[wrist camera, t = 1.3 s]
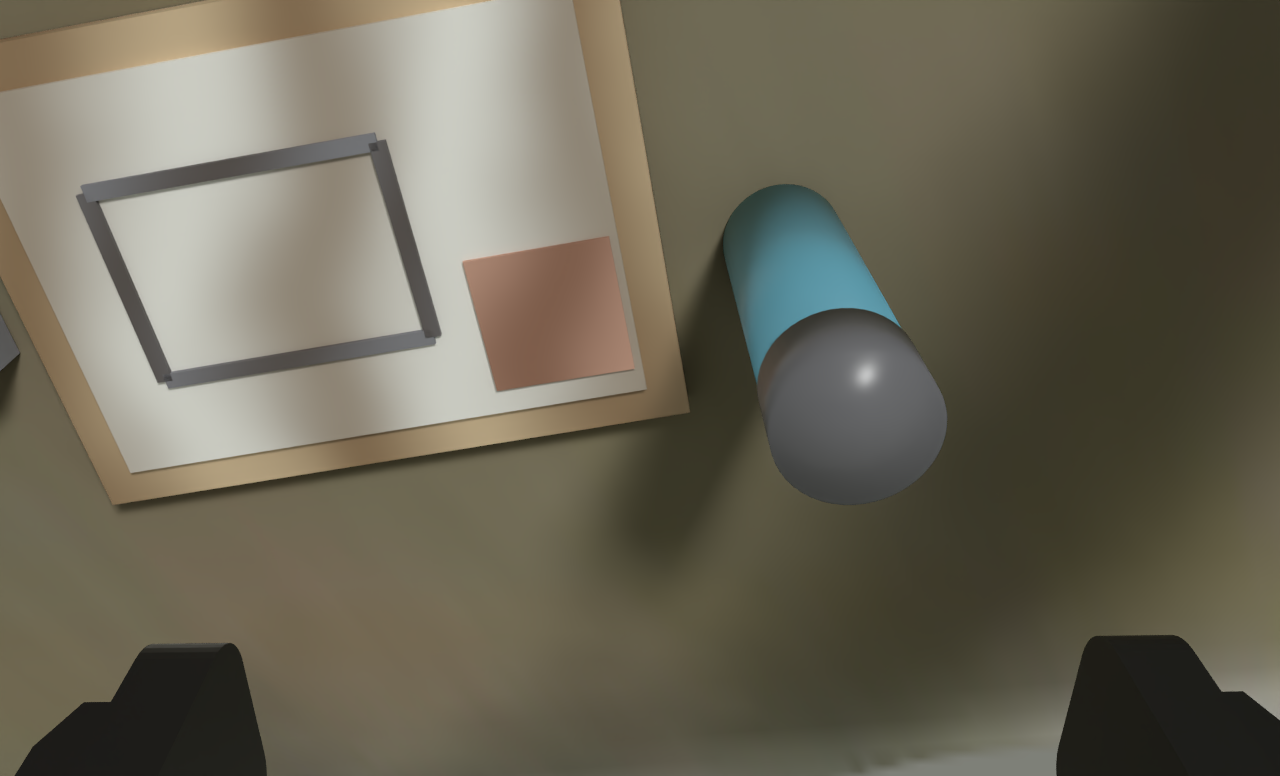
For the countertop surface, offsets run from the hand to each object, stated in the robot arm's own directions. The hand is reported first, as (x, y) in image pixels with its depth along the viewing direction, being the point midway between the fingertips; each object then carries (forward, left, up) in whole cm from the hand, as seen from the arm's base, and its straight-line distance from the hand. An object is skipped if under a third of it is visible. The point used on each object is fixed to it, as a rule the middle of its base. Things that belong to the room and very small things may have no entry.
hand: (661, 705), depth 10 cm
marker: (-3, +3, -18) cm, 18 cm away
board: (+8, +1, -18) cm, 19 cm away
